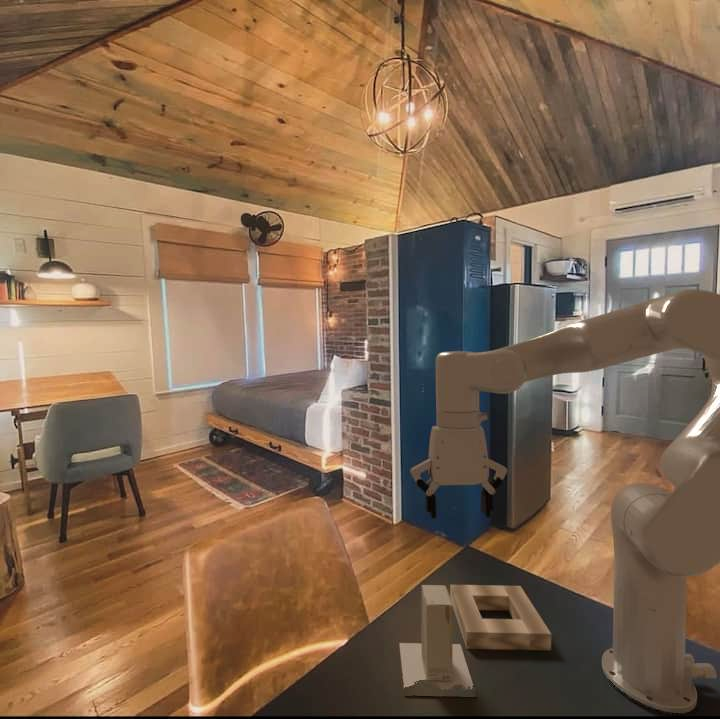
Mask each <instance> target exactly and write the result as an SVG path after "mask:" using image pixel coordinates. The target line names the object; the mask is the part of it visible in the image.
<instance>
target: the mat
mask: <svg viewBox="0 0 720 719" xmlns="http://www.w3.org/2000/svg"><path fill="white" fill-rule="evenodd" d="M398 645H399V652H400V654H399V655H400V664H401V671H402V672H401V673H402V674H403V675H402V681H403V683H404V684H403V689H404V688H405V687H409V686H412V685H414V684H415V683H414V682H416V681H419V680H425V679H426V675H425V671H424V666H423V661H422V654H421V652H422V642H421V643H416V642H399V644H398ZM426 680H427V679H426ZM427 681H429V682H432V683H433V682H435V683H436V685H438V686H439V688H440V687H441V688H440V689H442V690H444V689H446V690H448V689H450V688H451V687H453V686H454V685H456V684H457V685H459V684H461V685H463V686H464V687H465V689H467V688H468V687H469V686H470V690H471V689H472V688H473V687H472V686H474V682H473V680H472V677H471V674H470V670H469V667H468V664H467V661H466V657H465V655H464V651H463V648H462V645H461V644H460V643H452V681H436V680H433V681H432V680H427ZM416 683H417V682H416ZM435 683H434V684H435ZM457 685H456V686H457ZM461 685H460V686H461ZM438 686H437V687H438ZM463 686H462V687H463ZM464 687H463V688H464ZM463 688H462V689H463ZM451 689H452V688H451ZM451 689H450V690H451ZM465 689H464V690H465ZM468 689H469V688H468ZM468 689H467V690H468ZM474 689H475V688H474ZM474 689H473V690H474Z"/></svg>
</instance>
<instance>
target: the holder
mask: <svg viewBox="0 0 720 719" xmlns="http://www.w3.org/2000/svg"><path fill="white" fill-rule="evenodd" d="M449 595H450V598H451V601H452V605H453V612H454V614H455V618H456V621H457V623H458V627H459V631H460V633H461V636H462V639H463V642H464V644H465V648H466V649H469V650H470V649H471V650H472V649H474V650H512V651H513V650H515V651H552V633H551V631H550V629H549V628H548V627H547V625H546V624H545V622H544V620H543V618H542V617H541V616H540V614H539V612H538V611H537V609H536V608H535V607H534V605H533V604H532V602H531V600H530V599H529V597H528V596H527V594H526V593H525V591H524V589H523V588H522V586H521V585H495V584H494V585H493V584H492V585H491V584H489V585H487V584H481V585H479V584H450V585H449ZM480 611H508V612H509V614H510V615H509V616H511V618H512V619H511V618H483V617H482V615H481V613H480ZM517 649H518V650H517ZM519 649H520V650H519ZM521 649H522V650H521Z"/></svg>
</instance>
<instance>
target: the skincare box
mask: <svg viewBox="0 0 720 719" xmlns="http://www.w3.org/2000/svg"><path fill="white" fill-rule="evenodd" d="M453 612H454V609H453V605H452V601H451V598H450V592H449V591H448V588H447V586H446V585H444V584H443V585H441V584H437V585H436V584H422V585H421V643H422V652H421V654H422V661H423V666H424V671H425V675H426V679H427V680H436V681H452V644H453Z"/></svg>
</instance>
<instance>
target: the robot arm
mask: <svg viewBox="0 0 720 719" xmlns="http://www.w3.org/2000/svg"><path fill="white" fill-rule="evenodd" d="M677 349H682V350H684V349H685V350H686V349H687V350H690V351H692V352H694V353H697V354H700V355H702V356H703V359H704V361H705V365H706V367H707V370H708V373H709V376H710V379H711V391H710V395H709V398H708V399H707V401H706V403H705V404H704V405H703V407H702V408H701V410H700V411H699V412H698V413H697V414H696V416H694V418H693V419H692V420H691V421H690V422H689V423H688V424H687V426H685V428H684V429H683V430H682V431H681V432H680V434H678V435H677V436H676V438H675V439H674V440H673V441H672V442H671V443H670V444H669V445H668V446H667V448H666V449H665V450H664V452H663V453H662V455H661V458H660V470H661V473H662V474H663V475H664V478H666V480H667V481H668V482H669V483H671V484H672V485H673V486H674V487H675V488H674V490H673V491H672V492H671V493H669V492H668V491H666V490H665V489H663V488H661V487H658V486H656V485H653V484H651V483H650V484H649V483H643V482H635V483H630V484H627V485H625V486H623V487H622V488H621V489H619V491H618V492H617V493H616V494H615V495H614V497H613V499H612V502H611V507H610V521H611V532H612V539H613V553H614V554H613V556H614V560H613V562H614V565H613V567H614V569H613V570H614V572H613V573H614V574H613V616H612V619H613V621H612V622H613V623H612V625H613V626H612V647H610V648H609V649H606V650H605V651H604V652H603V654H602V656H601V668H602V671H603V673H604V675H606V676H605V677H606V678H607V680H608V679H609V680H610V681H611V682H612V683H613V684H614V685H615V686H616V687H618V688H619V689H620V690H621V691H623V692H625V693H626V694H627V695H629V696H631V697H632V698H634V699H635V700H638V701H640V702H641V703H644V704H646V705H649V706H652V707H654V708H656V709H660V710H664V711H667V712H673V713H679V714H680V713H681V714H686V713H688V712H689V713H690V712H692V711H693V710H694V709H695V707H696V706H697V705H698V704H697V702H698V693H697V689H696V686H695V684H694V682H692V681H696V680H698V678H701V679H716V678H717V675H718V674H717V671H716V669H715V667H714V665H712V663H708V662H697V663H695V662H696V661H695V658H694V656H693V655H692V654H691V653H686V623H687V622H686V621H687V620H686V619H687V613H686V612H687V611H686V610H687V584H688V583H687V578H693V577H697V576H700V575H702V574H705V573H708V572H709V571H710V570H712V569H713V568H714V567H716V566H717V565H718V564H719V563H720V293H716V292H713V291H708V290H703V289H698V288H692V289H691V288H690V289H684V290H683V289H682V290H679V291H676V292H671V293H670V294H669V293H668V294H666V295H662V296H659V297H656V298H652V299H649V300H645V301H642V302H639V303H635V304H632V305H628V306H626V307H623V308H619V309H616V310H613V311H610V312H606V313H602V314H599V315H596V316H592V317H590V318H586V319H583V320H579V321H577V322H574V323H571V324H568V325H566V326H563V327H561V328H559V329H556V330H554V331H551V332H549V333H546V334H543V335H540V336H537V337H534V338H530V339H528V340H524V341H520V342H517V343H515V344H511V345H507V346H504V347H501V348H497V349H494V350H489V351H488V350H487V351H480V352H473V351H470V350H469V351H466V350H465V351H464V350H463V351H462V350H461V351H460V350H458V351H455V350H453V351H452V350H451V351H442V352H439V353H438V354H437V355H436V358H435V401H436V403H435V404H436V406H435V408H436V412H435V413H436V414H435V416H436V417H435V418H436V425H433V426H432V427H431V430H430V437H429V447H428V458H427V459H426V460H424V461H422V462H421V463H419V464H417V465H415V466H413V467H411V468H410V470H409V472H410V474H411V477H412V478H413V479H414V482H415V484H416V485H417V487H418V488H420V489H421V491H422V492H423V493H425V511H426V513H429V516H430V517H431V519H436V518H437V497H436V495H435V493H436V491H437V490H438V488H439V487H440V486H467V485H468V486H475V485H481V487H482V489H481V490H480V510H481V513H483V515H484V516H485V517H486V518H491V511H493V510H494V508H493V506H494V504H493V503H494V501H493V500H494V499H493V497H494V496H493V495H494V494H495V493H496V491H497V489H498V488H499V487H500V486H502V484H503V480H504V479H505V477H506V475H507V473H508V468H506V467H505V466H504V465H502V464H500V463H498V462H496V461H494V460H492V459H489V454H488V447H487V442H486V436H485V430H484V427H482V426H481V423H482V422H484V421H487V420H488V413H487V412H482V411H481V410H480V392H485V393H486V392H487V393H492V394H494V393H495V394H503V395H504V394H505V395H506V394H509V393H510V394H511V393H514V392H515V391H518V390H519V389H520V388H522V386H523V385H524V384H525V383H527V382H531V381H534V380H538V379H542V378H546V377H549V376H550V377H551V376H556V375H560V374H561V375H562V374H571V373H572V374H575V373H578V374H579V373H587V372H593V371H599V370H602V369H605V368H609V367H614V366H617V365H620V364H623V363H624V364H625V363H627V362H630V361H634V360H637V359H641V358H646V357H650V356H653V355H657V354H660V353H664V352H665V353H666V352H668V351H672V350H677ZM490 469H492V470H494V471H495V474H494V476H493V477H492V478H490V479H489V477H490ZM427 470H428V476H429V479H428V480H427V481H424V479H423V478H422V477H421V474H422V473H424V472H425V471H427ZM609 680H608V681H609ZM610 681H609V682H610ZM611 682H610V683H611ZM612 683H611V684H612ZM613 684H612V685H613ZM614 685H613V686H614ZM616 687H615V688H616Z"/></svg>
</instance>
